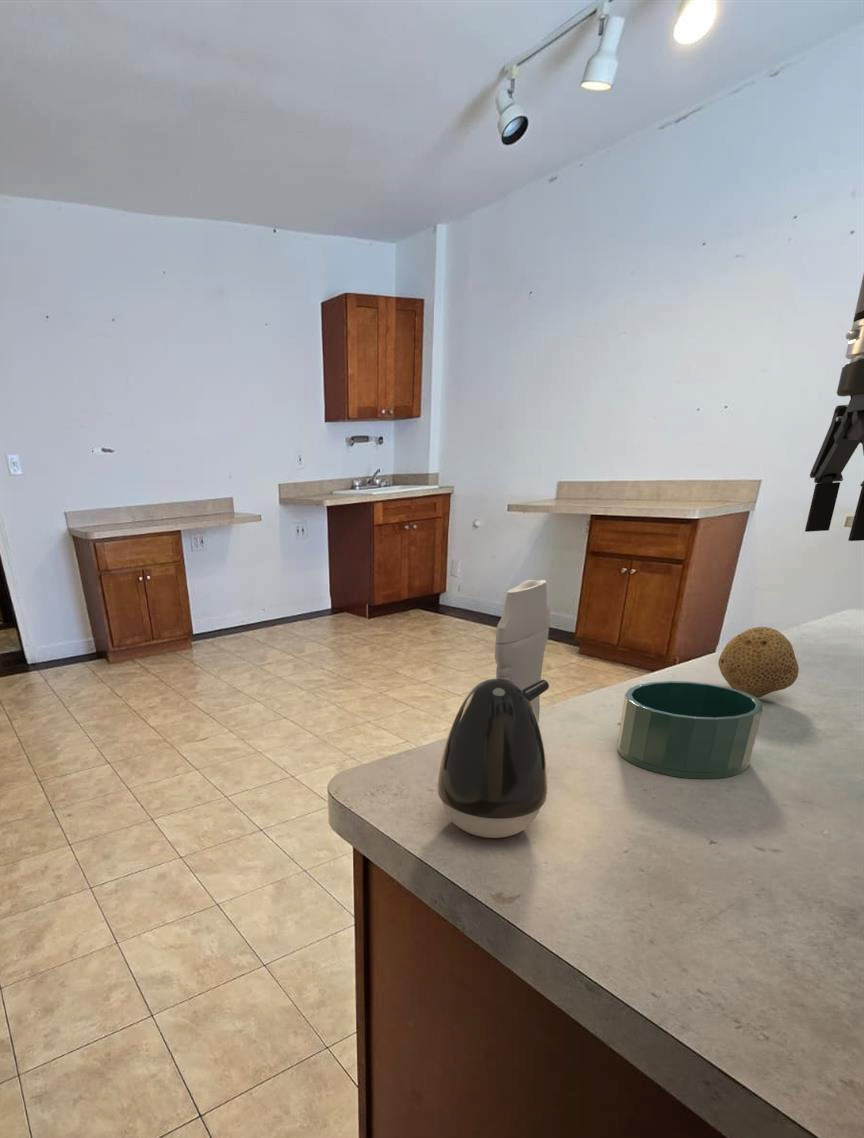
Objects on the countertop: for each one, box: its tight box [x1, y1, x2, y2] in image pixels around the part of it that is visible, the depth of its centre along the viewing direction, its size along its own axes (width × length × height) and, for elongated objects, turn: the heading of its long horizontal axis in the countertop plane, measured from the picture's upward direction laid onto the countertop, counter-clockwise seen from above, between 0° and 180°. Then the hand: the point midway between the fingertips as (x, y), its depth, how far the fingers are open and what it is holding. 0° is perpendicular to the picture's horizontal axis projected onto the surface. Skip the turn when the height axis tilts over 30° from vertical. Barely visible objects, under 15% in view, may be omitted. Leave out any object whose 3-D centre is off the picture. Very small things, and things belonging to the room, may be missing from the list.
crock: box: [616, 680, 764, 780], centre depth 74 cm, size 13×13×7 cm
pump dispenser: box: [437, 677, 550, 839], centre depth 61 cm, size 10×10×15 cm
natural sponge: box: [717, 626, 800, 699], centre depth 89 cm, size 9×9×10 cm
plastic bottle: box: [494, 579, 551, 725], centre depth 69 cm, size 11×4×22 cm, turn 135°
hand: (837, 535), depth 89 cm, fingers open, 13 cm apart
